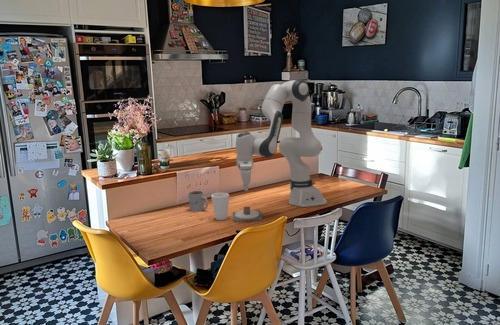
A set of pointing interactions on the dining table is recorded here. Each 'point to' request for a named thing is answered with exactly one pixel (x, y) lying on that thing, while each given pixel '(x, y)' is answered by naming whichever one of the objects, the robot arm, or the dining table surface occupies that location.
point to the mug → (197, 201)
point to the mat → (247, 219)
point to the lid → (246, 213)
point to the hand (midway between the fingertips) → (245, 188)
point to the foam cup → (220, 205)
